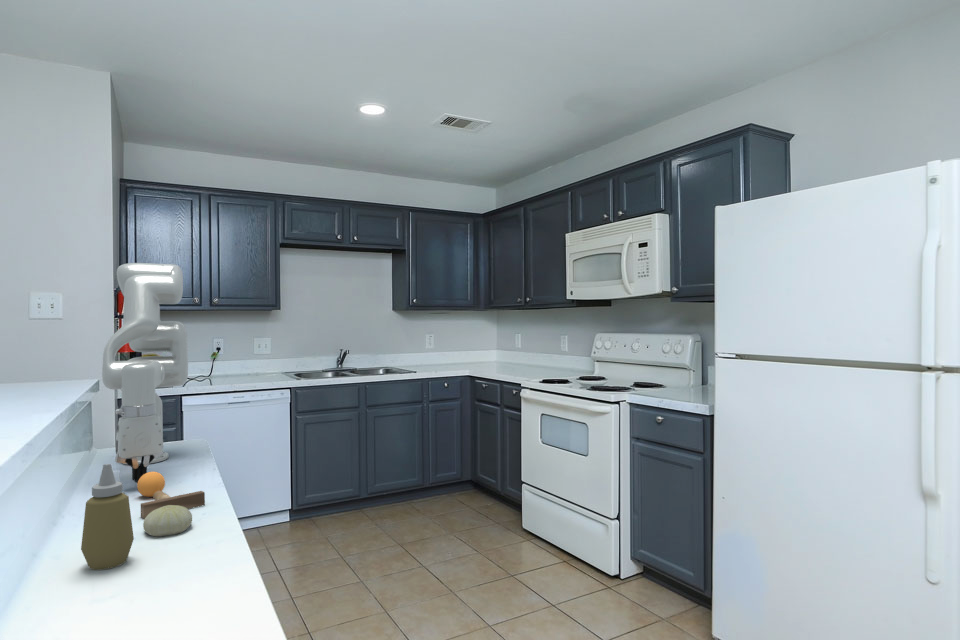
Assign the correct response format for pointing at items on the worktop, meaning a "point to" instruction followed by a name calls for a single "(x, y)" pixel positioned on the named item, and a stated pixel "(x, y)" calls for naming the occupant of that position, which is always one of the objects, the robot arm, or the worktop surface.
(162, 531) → the sea urchin shell
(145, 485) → the ball
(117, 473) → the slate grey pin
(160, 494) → the maple pin
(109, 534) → the squeeze bottle
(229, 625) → the worktop surface
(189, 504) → the back wall
